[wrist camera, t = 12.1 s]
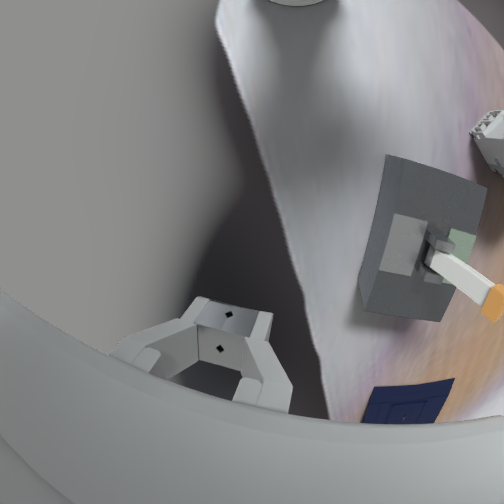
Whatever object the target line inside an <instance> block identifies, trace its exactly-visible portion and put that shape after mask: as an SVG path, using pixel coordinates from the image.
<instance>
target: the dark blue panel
mask: <svg viewBox="0 0 504 504" xmlns="http://www.w3.org/2000/svg"><path fill="white" fill-rule="evenodd" d="M454 379H455V378H453V379H448V380H443V381H438V382H432V383H426V384H420V385H409V386H389V387H374V390H373V393H372V396H371V398H370V401H369V404H368V408H367V411H366V415H365V418H364V421H363V423H368V424H431V423H434V422H435V420H436V418H437V416H438V414H439V412H440V411H441V409H442V407H443V405H444V403H445V401H446V399H447V397H448V395H449V392H450V390H451V388H452V384H453V382H454Z"/></svg>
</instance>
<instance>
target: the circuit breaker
mask: <svg viewBox="0 0 504 504" xmlns="http://www.w3.org/2000/svg"><path fill="white" fill-rule="evenodd" d="M497 113H499V114H497ZM478 126H480V127H478ZM475 130H476V131H475ZM469 133H470V134H473V136H474V138H473V139H474V141H475V143H476V144H477V146H478V148H479V149H480V151H481V153H482V155H483V157H484V158H485V160H486V162H487V164H488V166H489V168H490V170H491V171H494V172H497V171H498V173H500V174H502V176H503V178H504V110H494V111H489V112H488V113H487V114H486V115H485V116H484V117H483V118H482V119H481V120H480V121H479V122H478V124H477V125H476V126H475V127H474V128H473V129H472V130H471V131H470V132H469Z"/></svg>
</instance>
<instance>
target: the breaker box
mask: <svg viewBox="0 0 504 504" xmlns="http://www.w3.org/2000/svg"><path fill="white" fill-rule="evenodd" d="M487 190H488V188H486V187H484V186H481V185H479V184H476V183H474V182H472V181H469V180H466V179H464V178H461V177H459V176H456V175H453V174H450V173H448V172H445V171H442V170H439V169H436V168H433V167H430V166H427V165H423V164H420V163H417V162H414V161H410V160H407V159H403V158H399V157H395V156H391V155H387V154H386V159H385V165H384V171H383V176H382V182H381V187H380V192H379V197H378V202H377V206H376V211H375V215H374V220H373V224H372V228H371V232H370V236H369V240H368V244H367V248H366V251H365V255H364V259H363V262H362V266H361V269H360V272H359V276H358V282H359V287H360V292H361V297H362V302H363V307H364V311H367V312H373V313H380V314H386V315H393V316H399V317H406V318H413V319H420V320H427V321H435V322H440V321H441V319H442V317H443V315H444V313H445V311H446V309H447V307H448V305H449V303H450V301H451V298H452V296H453V294H454V292H455V289H456V286H455V285H453V284H452V283H451V282H449V281H448V280H447V279H445V278H444V277H443V276H441V275H440V274H439V273H437V272H436V271H435V270H433V269H432V268H430V267H429V266H427V265H426V264H425V263H424V262H425V259H426V256H427V253H428V250H429V247H430V244H431V245H432V246H433V248H434V249H437V250H441V251H445V252H449V253H450V254H452V255H453V256H455V257H456V258H458V259H460V260H461V261H463V262H464V263H465V264H467V263H468V260H469V257H470V254H471V251H472V249H473V246H474V243H475V239H476V232H477V229H478V226H479V222H480V219H481V215H482V211H483V207H484V203H485V199H486V194H487Z"/></svg>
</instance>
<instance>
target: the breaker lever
mask: <svg viewBox="0 0 504 504" xmlns="http://www.w3.org/2000/svg"><path fill="white" fill-rule="evenodd" d="M424 263H425V264H426V265H427V266H429V267H430V268H432V269H433V270H435V271H436V272H437V273H439V274H440V275H441V276H443V277H444V278H445V279H447V280H448V281H449V282H451V283H452V284H453V285H455V286H456V287H457V288H459V289H460V290H461V291H462V292H464V293H465V294H466V295H468V296H469V297H470V298H471V299H473V300H474V301H475V302H476V303H477V304H479V305H480V306H481V307H482V309H481V312H482V313H483V314H484V315H485V316H486V317H488V318H489V319H490V320H491V321H492V322H493V323H495V322H496V321H497V320H499V319H500V318H501V317H502V316H503V314H504V286H503V285H501V284H500V283H499V284H497V285H495V284H494V283H492V282H491V281H490V280H488V279H487V278H485V277H484V276H483V275H481V274H480V273H478V272H477V271H476V270H474V269H473V268H471V267H470V266H468V265H467V264H465V263H464V262H463V261H461V260H460V259H458V258H456V257H455V256H453V255H452V254H450V253H449V252H445V251H441V250H437V249H434V248H433V246H432V245H431V244H430V247H429V250H428V253H427V256H426V259H425V262H424Z"/></svg>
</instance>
